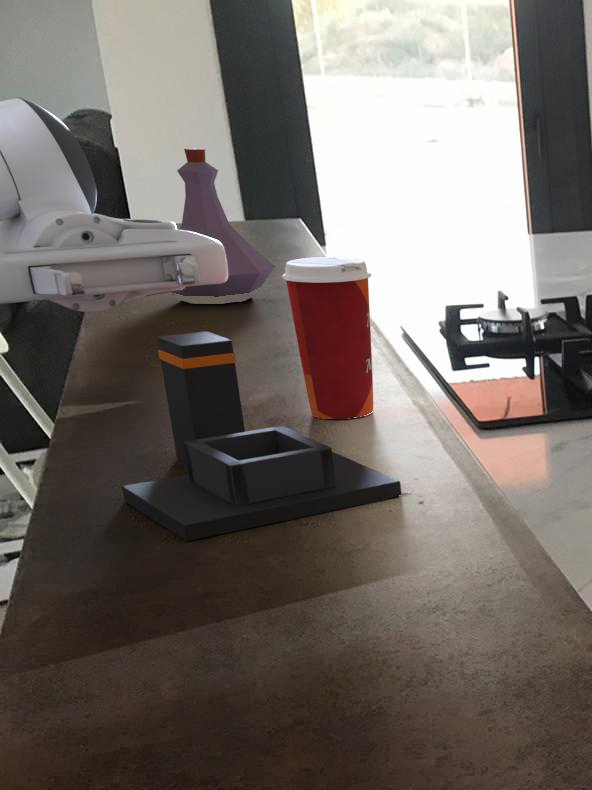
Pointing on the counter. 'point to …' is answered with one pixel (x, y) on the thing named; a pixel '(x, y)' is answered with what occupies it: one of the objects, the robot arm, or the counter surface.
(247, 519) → the base pad
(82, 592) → the counter surface
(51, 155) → the robot arm
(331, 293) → the paper cup
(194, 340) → the black block
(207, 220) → the flask
